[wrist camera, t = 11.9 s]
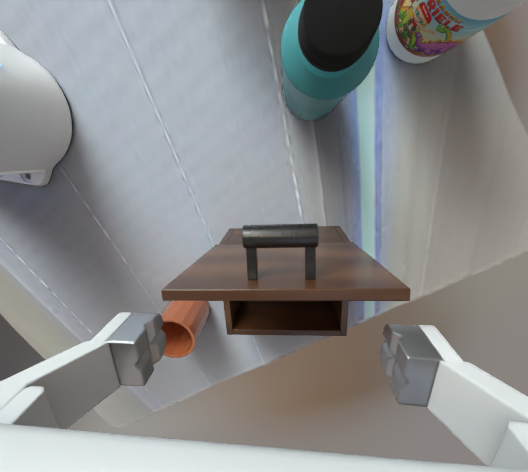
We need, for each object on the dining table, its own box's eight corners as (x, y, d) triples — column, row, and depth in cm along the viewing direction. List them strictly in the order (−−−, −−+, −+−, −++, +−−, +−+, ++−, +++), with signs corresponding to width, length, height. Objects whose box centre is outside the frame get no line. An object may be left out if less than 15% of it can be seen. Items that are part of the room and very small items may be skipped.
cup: (175, 323, 44) (153, 357, 37) (168, 290, 42) (144, 319, 35) (212, 323, 43) (197, 358, 36) (207, 290, 41) (191, 319, 34)
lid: (410, 301, 16) (415, 225, 15) (162, 301, 17) (154, 232, 16) (353, 249, 29) (354, 207, 28) (216, 251, 30) (213, 212, 29)
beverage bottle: (339, 117, 32) (420, 70, 13) (286, 128, 33) (287, 100, 14) (334, 56, 30) (419, -106, 11) (277, 70, 31) (264, -57, 12)
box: (335, 303, 40) (346, 336, 33) (236, 303, 41) (227, 334, 35) (339, 225, 36) (352, 244, 29) (229, 228, 37) (217, 246, 31)
